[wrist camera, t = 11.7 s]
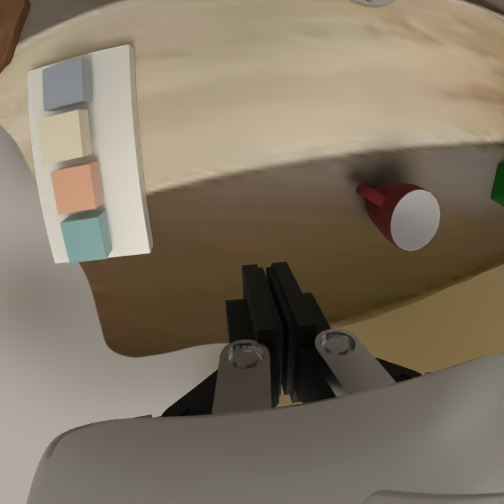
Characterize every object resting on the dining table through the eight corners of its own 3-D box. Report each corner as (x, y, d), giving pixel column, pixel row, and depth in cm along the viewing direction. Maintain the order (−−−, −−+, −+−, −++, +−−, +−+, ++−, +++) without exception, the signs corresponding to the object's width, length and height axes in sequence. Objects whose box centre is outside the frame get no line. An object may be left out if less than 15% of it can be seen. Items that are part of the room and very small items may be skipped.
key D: (77, 209, 37) (59, 223, 32) (111, 203, 38) (97, 217, 33) (84, 244, 39) (69, 262, 34) (118, 240, 40) (106, 258, 35)
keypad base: (37, 74, 30) (27, 72, 28) (134, 49, 32) (129, 44, 29) (62, 254, 41) (55, 263, 38) (153, 244, 42) (150, 252, 39)
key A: (62, 74, 30) (42, 69, 25) (98, 65, 31) (81, 57, 26) (64, 111, 32) (43, 111, 27) (99, 103, 33) (83, 100, 27)
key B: (60, 119, 31) (38, 120, 26) (96, 110, 32) (78, 109, 26) (64, 158, 33) (43, 165, 28) (100, 151, 34) (82, 156, 28)
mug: (331, 213, 44) (363, 238, 35) (350, 159, 41) (388, 171, 32) (388, 232, 47) (425, 258, 38) (407, 183, 44) (448, 201, 35)
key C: (70, 164, 35) (50, 172, 30) (104, 157, 36) (89, 164, 30) (76, 201, 37) (58, 214, 32) (110, 196, 38) (96, 208, 32)
